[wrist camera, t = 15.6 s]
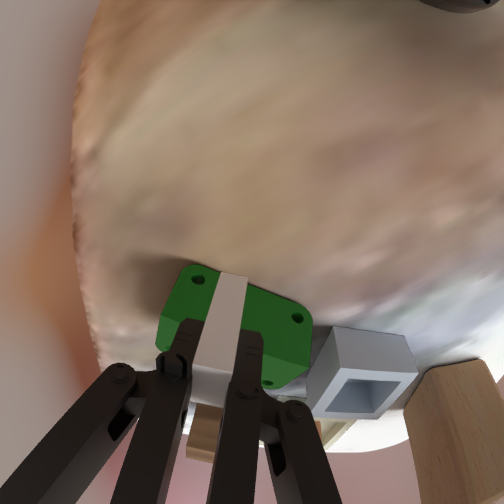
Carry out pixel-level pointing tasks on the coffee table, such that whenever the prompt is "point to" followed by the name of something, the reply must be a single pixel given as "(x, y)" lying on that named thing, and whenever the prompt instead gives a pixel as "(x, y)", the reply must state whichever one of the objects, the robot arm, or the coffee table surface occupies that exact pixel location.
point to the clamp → (245, 323)
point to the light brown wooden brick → (204, 433)
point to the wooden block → (457, 435)
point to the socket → (359, 374)
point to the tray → (325, 425)
